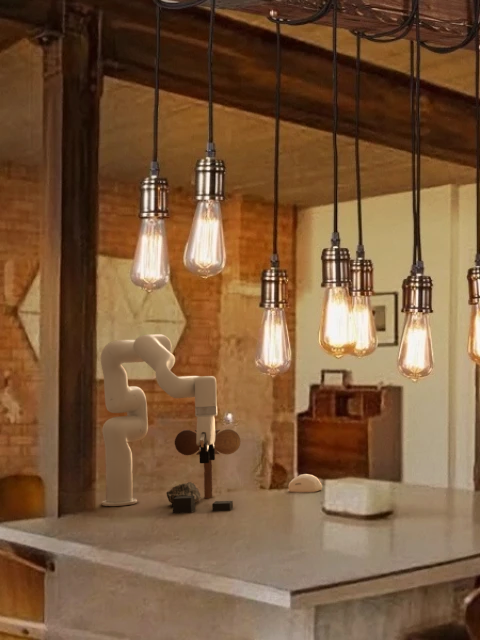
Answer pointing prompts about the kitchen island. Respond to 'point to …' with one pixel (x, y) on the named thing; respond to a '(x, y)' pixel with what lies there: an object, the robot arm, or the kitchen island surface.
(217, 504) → the pad
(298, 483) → the computer mouse
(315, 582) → the kitchen island surface
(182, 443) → the brown flat cross piece
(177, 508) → the pad base
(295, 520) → the kitchen island surface
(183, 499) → the pad
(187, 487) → the rock
